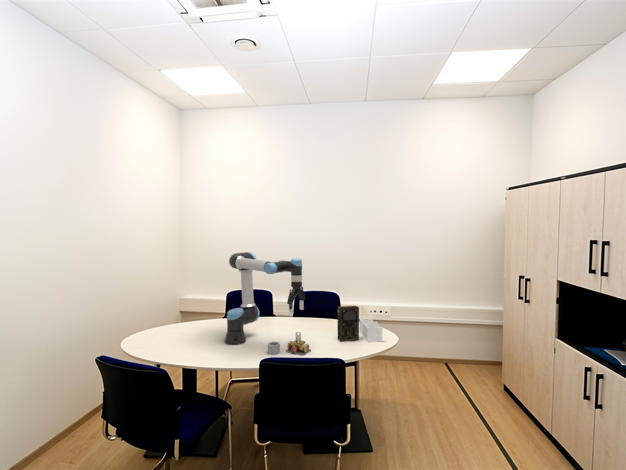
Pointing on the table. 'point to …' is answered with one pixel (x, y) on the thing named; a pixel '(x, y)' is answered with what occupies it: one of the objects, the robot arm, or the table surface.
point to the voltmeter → (348, 323)
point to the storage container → (370, 330)
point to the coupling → (273, 348)
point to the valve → (298, 346)
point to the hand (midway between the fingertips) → (296, 311)
